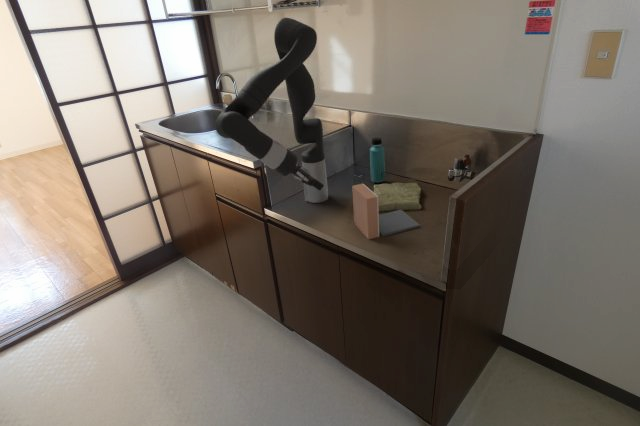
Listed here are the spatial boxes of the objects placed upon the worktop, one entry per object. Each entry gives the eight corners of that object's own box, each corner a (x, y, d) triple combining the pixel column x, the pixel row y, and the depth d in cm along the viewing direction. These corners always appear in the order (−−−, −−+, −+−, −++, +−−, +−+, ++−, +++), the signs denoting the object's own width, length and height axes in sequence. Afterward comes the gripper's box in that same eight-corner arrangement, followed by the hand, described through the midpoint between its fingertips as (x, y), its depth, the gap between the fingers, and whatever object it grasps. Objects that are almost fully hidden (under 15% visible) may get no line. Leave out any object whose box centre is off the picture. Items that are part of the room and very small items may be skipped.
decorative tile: (374, 212, 146) (374, 204, 144) (373, 190, 163) (373, 182, 162) (425, 210, 143) (425, 202, 142) (418, 188, 161) (418, 180, 159)
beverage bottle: (382, 186, 165) (380, 141, 156) (368, 184, 168) (366, 140, 159) (388, 180, 170) (387, 136, 160) (374, 179, 173) (372, 135, 164)
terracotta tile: (368, 239, 128) (366, 199, 121) (354, 223, 139) (352, 185, 132) (379, 236, 129) (378, 196, 122) (364, 221, 140) (362, 183, 133)
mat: (382, 236, 129) (382, 234, 129) (366, 219, 140) (366, 217, 140) (419, 226, 132) (419, 224, 132) (401, 211, 143) (401, 209, 143)
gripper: (291, 153, 107) (335, 185, 115) (280, 141, 118) (321, 171, 126) (275, 175, 108) (320, 204, 116) (266, 161, 119) (308, 189, 127)
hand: (321, 187), depth 121 cm, fingers closed
